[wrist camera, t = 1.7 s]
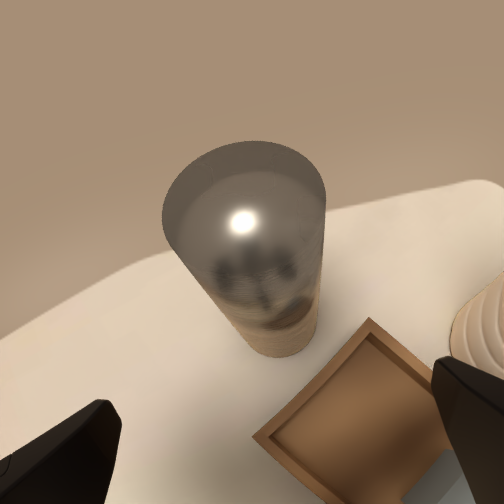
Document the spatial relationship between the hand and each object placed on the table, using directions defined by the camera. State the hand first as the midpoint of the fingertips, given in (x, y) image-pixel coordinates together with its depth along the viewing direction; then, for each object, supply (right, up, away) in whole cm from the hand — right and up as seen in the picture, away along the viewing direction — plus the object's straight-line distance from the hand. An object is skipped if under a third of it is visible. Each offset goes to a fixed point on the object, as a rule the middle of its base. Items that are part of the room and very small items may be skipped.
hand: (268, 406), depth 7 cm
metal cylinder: (+1, -1, +13) cm, 13 cm away
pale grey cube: (+11, -10, +4) cm, 15 cm away
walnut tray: (+8, -9, +8) cm, 14 cm away
